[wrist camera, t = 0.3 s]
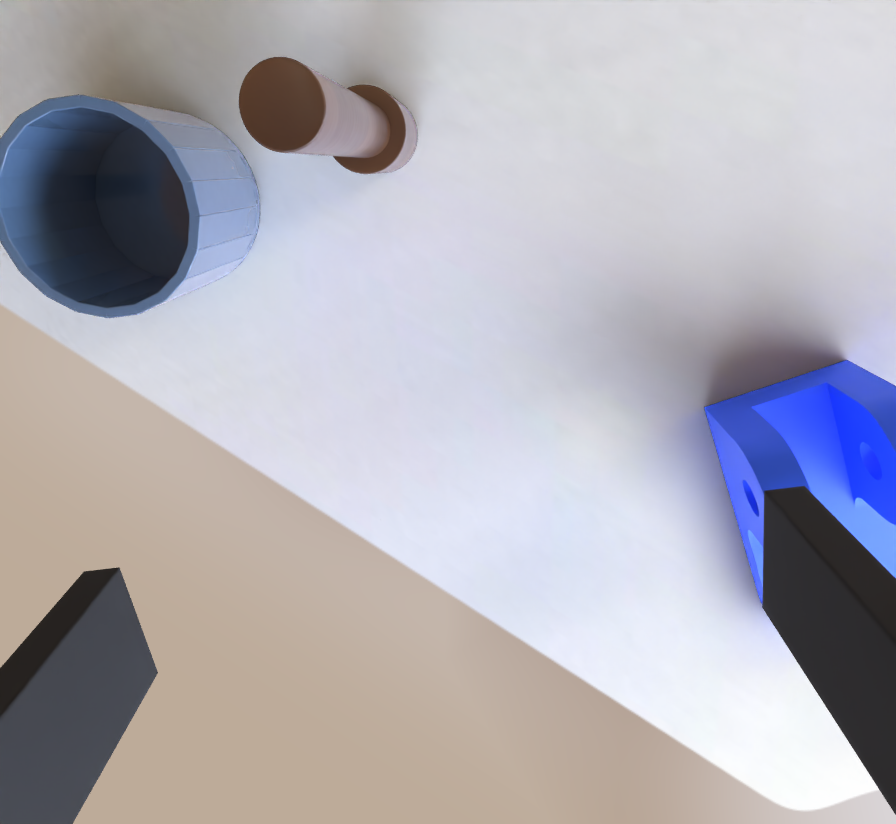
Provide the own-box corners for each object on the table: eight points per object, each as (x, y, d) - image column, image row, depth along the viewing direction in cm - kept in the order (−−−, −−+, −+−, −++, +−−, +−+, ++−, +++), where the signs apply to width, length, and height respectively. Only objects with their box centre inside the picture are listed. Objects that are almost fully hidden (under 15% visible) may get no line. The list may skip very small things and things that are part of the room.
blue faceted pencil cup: (73, 123, 39) (-43, 111, 30) (240, 99, 38) (169, 80, 29) (120, 294, 42) (27, 327, 33) (275, 276, 41) (220, 305, 32)
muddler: (341, 102, 38) (197, 38, 19) (412, 92, 37) (338, 16, 18) (353, 176, 39) (229, 187, 20) (422, 167, 38) (362, 170, 20)
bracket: (703, 407, 42) (759, 468, 34) (846, 359, 41) (942, 411, 32) (773, 646, 47) (836, 751, 39) (901, 611, 46) (995, 712, 38)
